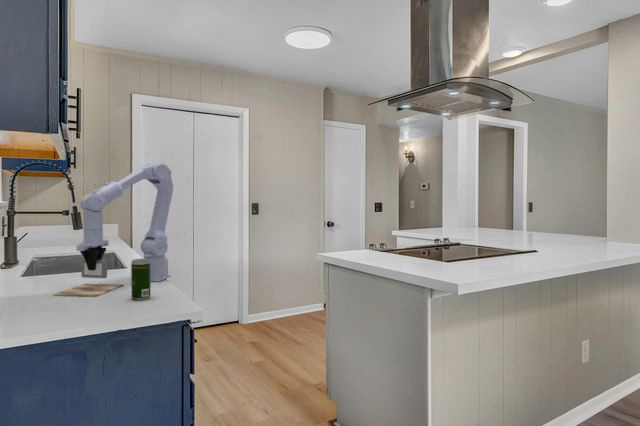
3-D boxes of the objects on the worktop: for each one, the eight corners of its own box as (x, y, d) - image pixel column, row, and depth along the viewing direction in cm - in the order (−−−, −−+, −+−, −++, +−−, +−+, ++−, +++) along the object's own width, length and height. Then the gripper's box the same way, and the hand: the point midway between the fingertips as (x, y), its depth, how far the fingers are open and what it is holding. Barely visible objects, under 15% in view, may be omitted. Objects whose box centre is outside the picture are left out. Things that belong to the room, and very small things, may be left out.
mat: (85, 284, 143) (85, 283, 143) (123, 285, 143) (123, 284, 143) (53, 295, 128) (53, 294, 127) (96, 296, 127) (96, 295, 127)
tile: (84, 276, 138) (84, 259, 138) (107, 277, 138) (107, 260, 137) (81, 277, 136) (81, 259, 136) (104, 278, 136) (104, 260, 136)
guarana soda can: (154, 297, 126) (154, 259, 126) (139, 301, 121) (139, 261, 121) (142, 295, 129) (142, 258, 128) (127, 299, 124) (127, 260, 123)
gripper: (94, 227, 144) (95, 265, 144) (67, 231, 129) (67, 273, 130) (114, 228, 143) (114, 266, 144) (88, 231, 129) (89, 273, 129)
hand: (93, 269), depth 137 cm, fingers closed on tile, 1 cm apart
